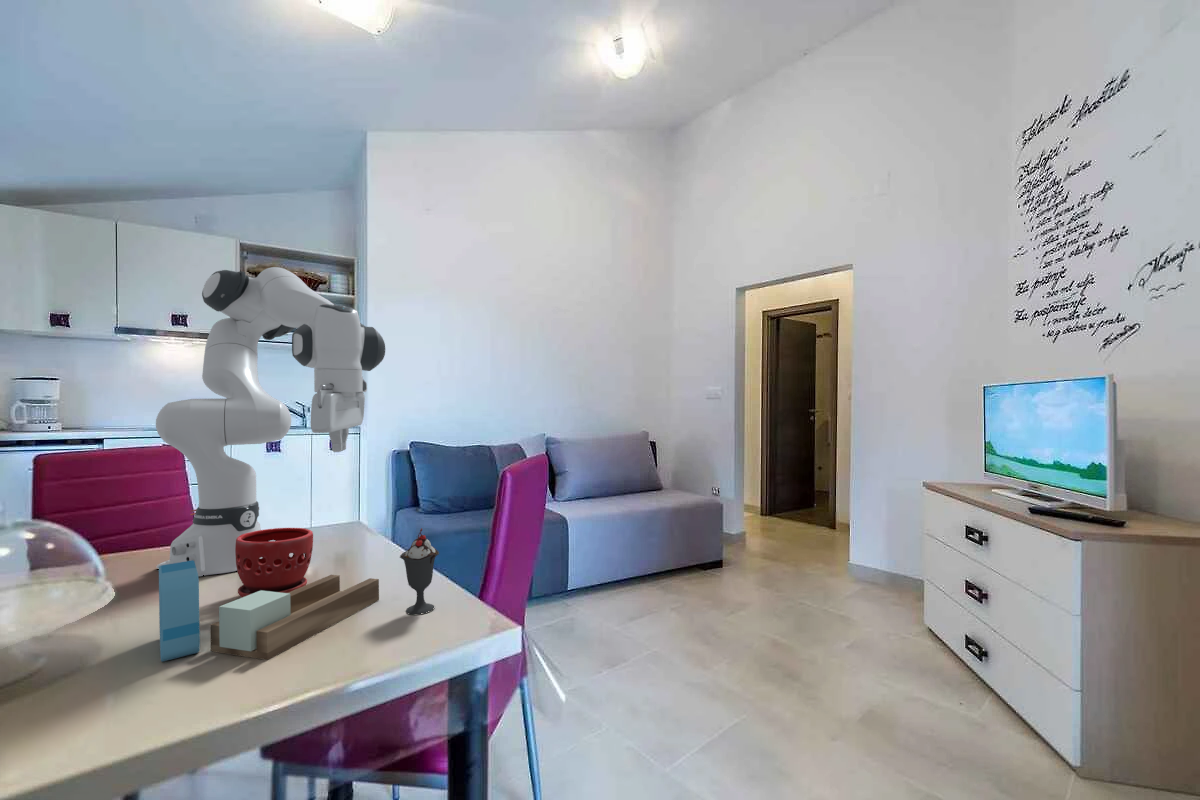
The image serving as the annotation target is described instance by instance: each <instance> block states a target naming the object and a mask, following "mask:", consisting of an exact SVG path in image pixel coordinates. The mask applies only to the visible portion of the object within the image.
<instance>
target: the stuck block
mask: <svg viewBox="0 0 1200 800" xmlns="http://www.w3.org/2000/svg"><path fill="white" fill-rule="evenodd" d="M218 611H219V612H218V621H219V637H220V647H225V648H232V649H238V650H245V651H253V650H255V649H257V631H258V630H260V629H262V628H264V627H266V626H268V625H271V624H273V623H275V622H277V621H279V620H281V619H284V618H286V617H288V616H290V615H291V607H290V594H289V593H280V592H271V591H262V590H261V591H258V592H255V593H253V594H250V595H248V596H245V597H240V598H238V599H235V600H233V601H230V602H227V603H225V604H224V603H223V605H220V606H218Z"/></svg>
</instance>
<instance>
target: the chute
mask: <svg viewBox="0 0 1200 800" xmlns="http://www.w3.org/2000/svg"><path fill="white" fill-rule="evenodd" d="M340 576H341V575H338V574H330V575H328V576H325V577H322V578H320V579H317V580H315V581H313V582H310V583H307V584H306V585H305V586H303V587H300V588H298V589H295V590H293V591H291V592H288V593H289V594H290V607H291V615H290V616H288V617H286V618H284V619H281V620H279V621H277V622H275V623H273V624H271V625H268V626H266V627H264V628H262V629H260V630H258V631H257V649H255V650H253V651H245V650H238V649H232V648H225V647H220V637H219V620H218V621H216V622H214V623H211V624H210V629H209V631H210V632H209V633H210V652H214V653H220V654H221V653H222V654H227V655H234V656H238V657H239V656H240V657H247V658H251V659H252V658H253V659H259V660H267V661H269V660H270V659H272V658H274V657H276V656H277V655H280V654H281V653H283V652H285V651H287V650H289V649H291V648H292V647H295V646H297V645H299V644H300V643H301V642H303V641H306V640H307V639H309V638H312V637H313V636H315V635H317V634H319V633H321V632H323V631H325V630H326V629H328V628H329V627H332V626H334V625H335V624H337V623H339V622H341V621H343V620H345V619H347V618H349V617H351V616H352V615H354V614H356V613H358V612H360V611H362V610H364V609H365V608H367V607H369V606H371V605H373V604H375V603H377V602H378V601H380V580H379V578H372V577H371V578H368V579H366V580H363V581H361V582H359V583H357V584H355V585H352V586H350V587H348V588H346V589H344V590H341V587H340V586H341V584H340V583H341V581H340V580H341V579H340Z"/></svg>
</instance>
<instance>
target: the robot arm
mask: <svg viewBox="0 0 1200 800" xmlns="http://www.w3.org/2000/svg"><path fill="white" fill-rule="evenodd" d="M201 296H202V300H203V302H204V303H205V304H206V305H207V306H208V307H209V308H211V309H212V310H214V311H216V312H218V313H219V312H220V313H222V314H224V315H226V316H228V318H227V317H226V318H221V319H220V320H217V321H216V322H215V323H214V324H213V325H212V326H211V329H210V331H209V334H208V336H207V338H206V343H205V348H204V355H203V365H202V375H201V376H202V377H201V379H202V381H203V383H204V385H205V387H207V388H208V389H209V390H210V391H211V392H212V393H214V394H216V395H219V396H221V397H222V398H190V399H182V400H177V401H172V402H167V403H166V404H165V405H164V406H162V408H161V409H160V410H159V411H158V413H157V416H156V419H155V429H156V431H157V434H158V436H159V437H160V438H161V439H162V440H163V442H165V443H166V444H167V445H169V446H170V447H173V448H174V449H176V450H177V451H179V452H180V453H181V454H182V455H183V456H184V457H186V459H187V460H188V461H189V462H190V464H191V466H192V467H193V469H194V472H195V477H196V481H197V493H198V507H197V508H195V509H191V510H189V512H191V513H190V514H189V515H190V516H193V519H192V524H191V525H190V526H189V527H188V528H187V529H185V530H184V531H183V532H182V533H181V534H179V536H177V537H176V538H175V539H174V540H172V542H171V544H170V548H169V559H168V560H165V561H163V562H160V563H158V564H156V567H155V568H158V569H159V566H161V565H167V564H173V563H179V562H185V561H192V560H193V561H194V562H195V565H196V569H197V572H198V578H199V577H203V575H204V576H209V575H210V576H211V575H217V574H227V573H232V572H236V571H237V567H236V556H235V546H236V539H237V537H239V536H240V535H242V534H245V533H249V532H254V531H259V530H262V527H261V523H260V522H259V521H258V517H259V516H260V506H259V502H258V501H257V473H256V471H255V469H254V467H253V466H252V465H250V464H249V463H247V462H244V461H242V460H239V459H238V458H237V459H236V458H233V457H231V456H229V455H228V454H227V453H226V452H225V449H224V447H227V446H237V445H238V446H239V445H261V444H266V443H267V444H268V443H271V442H275V441H280V440H282V439H283V438H284V437H285V436H286V435H287V434H288V432H289V431H290V428H291V426H292V415H291V413H290V410H289V408H288V407H287V405H286V404H285V403H284V402H283V401H281V400H279V399H276V398H275V397H273V396H272V395H270V394H269V393H268V392H267V391H265V389H264V388H263V386H261V383H260V381H259V373H258V358H259V357H258V343H259V341H260V339H261V338H263V339H264V340H266V341H271V340H274V339H275V338H278V337H279V338H280V337H283V336H285V335H287V334H289V333H291V332H292V331H294V332H292V336H291V353H292V357H293V358H294V359H295V361H297V363H299V364H300V365H301V366H303V367H308V368H311V369H314V370H313V372H314V373H313V374H314V375H313V379H314V383H313V384H314V387H313V388H314V389H313V391H314V392H315V393H314V394H313V396H312V399H311V408H310V429H311V432H313V433H314V434H315V433H317V434H326V433H328V435H329V436H328V437H329V440H330V442H331V451H332V452H333V453H340V452H342V451H345V450H346V449H347V441H348V437H349V428H354V427H358V426H361V425H362V424H363V421H364V417H365V400H366V399H365V397H366V396H365V394H364V393H366V392H367V391H368V384H367V381H365V379H364V378H363V377H364V376H363V371H366V372H371V371H373V370H374V369H375V368H377V366H379V365H380V363H382V362H383V360H384V358H385V355H386V343H385V340H384V338H383V336H382V335H381V334H380V332H378V330H377V329H376V328H375V327H373V326H366V325H364V324H363V323H362V322H361V319H360V316H359V312H358V310H357V309H354V308H353V307H350V306H346V305H338V304H336V303H334V302H332V301H330V300H329V299H327V298H325V297H323V296H322V295H320V294H318V293H317V292H316V291H314V290H313V289H311V288H310V287H309V286H308V285H307V283H305V282H304V281H303V280H302V279H301V278H300V277H299V276H297V275H296V274H295V273H293V272H292V271H290V270H288V269H286V268H284V267H277V266H273V267H268V268H265V269H263V270H262V271H261V272H259V274H257V276H256V277H250V276H248V275H247V274H246V272H245V271H241V270H240V271H234V270H227V269H221V270H218V271H215V272H213V273H212V274H211V275H210V276H209V277H208V278H207V279H206V281H205V282H204V285H203V287H202V293H201ZM192 512H193V513H192ZM261 558H263V557H261ZM261 558H259V559H261ZM237 572H238V571H237Z"/></svg>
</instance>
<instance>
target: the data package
mask: <svg viewBox="0 0 1200 800" xmlns="http://www.w3.org/2000/svg"><path fill="white" fill-rule="evenodd" d="M158 601H159V602H158V603H159V604H158V609H159V610H158V611H159V613H158V616H159V653H160V655H159V657H160V661H161V662H162V663H163V662H168V661H171V660H176V659H178V658H183V657H186V656H191V655H194V654H198V653H200V650H201V649H200V647H201V645H200V643H201V640H200V638H201V637H200V635H201V634H200V631H201V630H200V581H199V577H198V572H197V569H196V565H195V562H194V561H193V560H192V561H185V562H179V563H173V564H167V565H161V566H159V570H158Z"/></svg>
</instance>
